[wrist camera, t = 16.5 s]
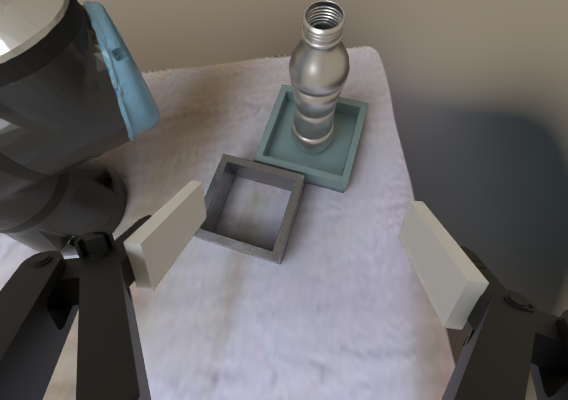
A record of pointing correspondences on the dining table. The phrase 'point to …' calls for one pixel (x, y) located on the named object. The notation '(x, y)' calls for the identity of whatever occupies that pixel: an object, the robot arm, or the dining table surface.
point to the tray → (315, 166)
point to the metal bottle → (318, 75)
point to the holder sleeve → (257, 173)
